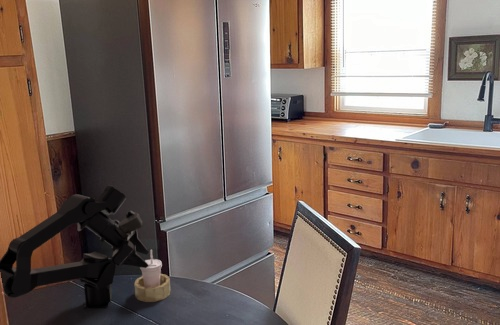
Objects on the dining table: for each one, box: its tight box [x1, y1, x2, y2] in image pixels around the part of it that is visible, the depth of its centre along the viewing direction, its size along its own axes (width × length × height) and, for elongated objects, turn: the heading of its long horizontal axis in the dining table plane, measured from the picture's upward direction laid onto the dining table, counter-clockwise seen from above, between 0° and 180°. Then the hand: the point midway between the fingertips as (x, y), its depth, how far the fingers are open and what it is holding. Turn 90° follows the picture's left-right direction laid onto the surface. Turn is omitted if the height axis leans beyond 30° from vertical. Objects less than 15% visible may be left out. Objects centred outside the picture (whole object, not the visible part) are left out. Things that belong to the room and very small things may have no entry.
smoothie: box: [139, 249, 163, 288], centre depth 138 cm, size 6×6×14 cm
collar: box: [134, 273, 171, 303], centre depth 139 cm, size 10×10×4 cm
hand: (147, 259), depth 136 cm, fingers open, 9 cm apart
